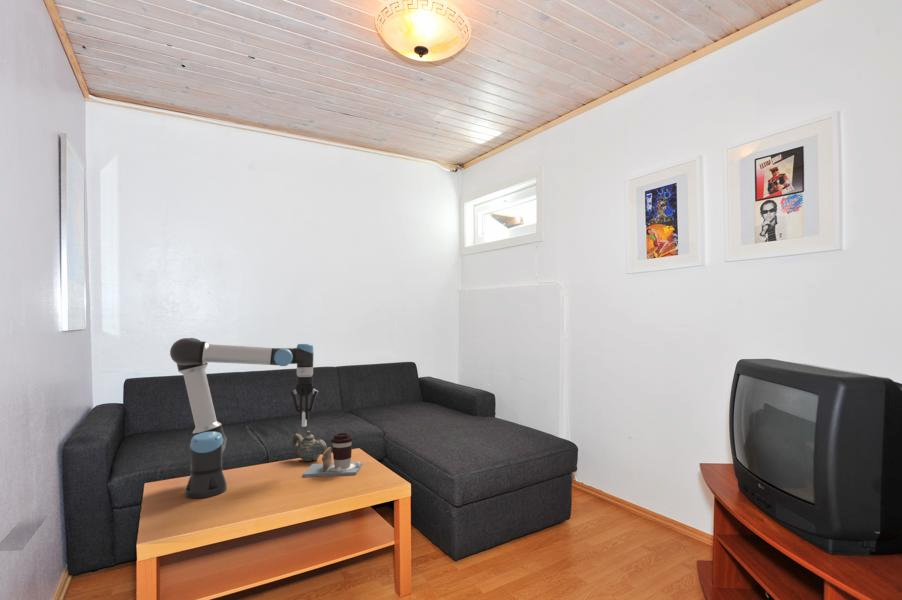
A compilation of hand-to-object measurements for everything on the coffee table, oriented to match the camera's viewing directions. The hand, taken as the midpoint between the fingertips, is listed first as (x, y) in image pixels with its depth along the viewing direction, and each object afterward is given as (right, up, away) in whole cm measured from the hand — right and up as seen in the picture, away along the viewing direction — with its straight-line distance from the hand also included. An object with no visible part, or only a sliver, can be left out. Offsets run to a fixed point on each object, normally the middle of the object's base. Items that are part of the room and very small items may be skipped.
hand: (304, 426), depth 219 cm
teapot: (-3, -22, +17) cm, 28 cm away
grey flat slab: (+15, -20, -2) cm, 25 cm away
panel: (+11, -19, -2) cm, 22 cm away
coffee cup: (+19, -19, -2) cm, 26 cm away
